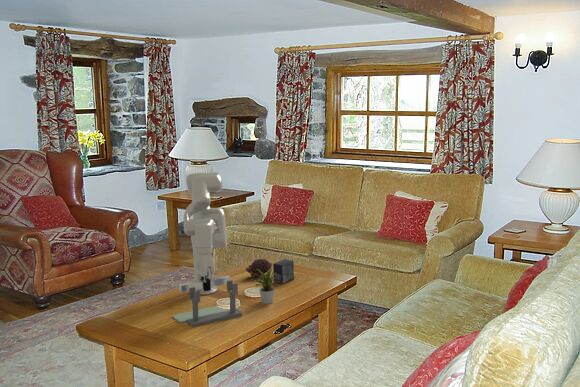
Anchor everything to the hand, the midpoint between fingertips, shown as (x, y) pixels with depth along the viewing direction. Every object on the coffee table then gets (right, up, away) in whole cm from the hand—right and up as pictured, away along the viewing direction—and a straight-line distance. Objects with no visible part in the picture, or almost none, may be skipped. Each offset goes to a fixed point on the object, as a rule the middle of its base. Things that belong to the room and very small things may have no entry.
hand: (205, 289), depth 272 cm
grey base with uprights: (+5, -12, -5) cm, 14 cm away
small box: (+35, -3, +48) cm, 59 cm away
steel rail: (0, +1, 0) cm, 1 cm away
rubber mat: (0, -11, +2) cm, 11 cm away
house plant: (+27, -9, +18) cm, 33 cm away
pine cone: (+22, -2, +55) cm, 59 cm away
